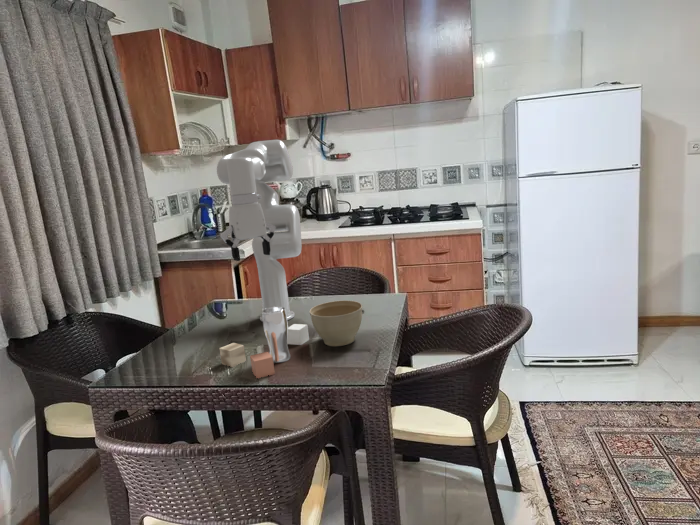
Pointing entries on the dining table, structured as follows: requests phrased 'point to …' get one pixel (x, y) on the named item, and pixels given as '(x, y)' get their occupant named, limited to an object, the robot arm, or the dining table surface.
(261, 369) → the rust block
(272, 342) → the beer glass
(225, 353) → the beech block
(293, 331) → the cream block
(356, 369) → the dining table surface
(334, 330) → the planter bowl
